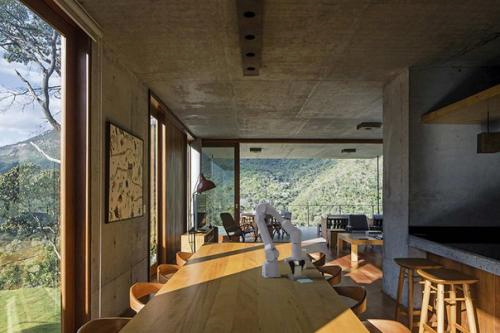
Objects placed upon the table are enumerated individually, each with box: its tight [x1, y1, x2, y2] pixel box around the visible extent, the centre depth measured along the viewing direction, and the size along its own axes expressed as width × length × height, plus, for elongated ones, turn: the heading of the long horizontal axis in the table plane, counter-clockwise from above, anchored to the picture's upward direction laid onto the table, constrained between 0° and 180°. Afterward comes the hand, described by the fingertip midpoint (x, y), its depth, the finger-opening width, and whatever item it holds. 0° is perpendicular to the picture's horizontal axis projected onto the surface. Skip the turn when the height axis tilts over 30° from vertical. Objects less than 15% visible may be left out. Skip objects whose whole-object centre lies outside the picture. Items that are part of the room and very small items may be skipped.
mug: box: [290, 248, 307, 270], centre depth 255 cm, size 10×7×12 cm, turn 80°
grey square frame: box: [286, 273, 308, 281], centre depth 228 cm, size 9×9×2 cm
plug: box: [291, 264, 301, 276], centre depth 228 cm, size 4×4×7 cm
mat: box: [296, 278, 315, 284], centre depth 219 cm, size 7×7×1 cm
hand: (296, 273), depth 228 cm, fingers closed on plug, 4 cm apart
